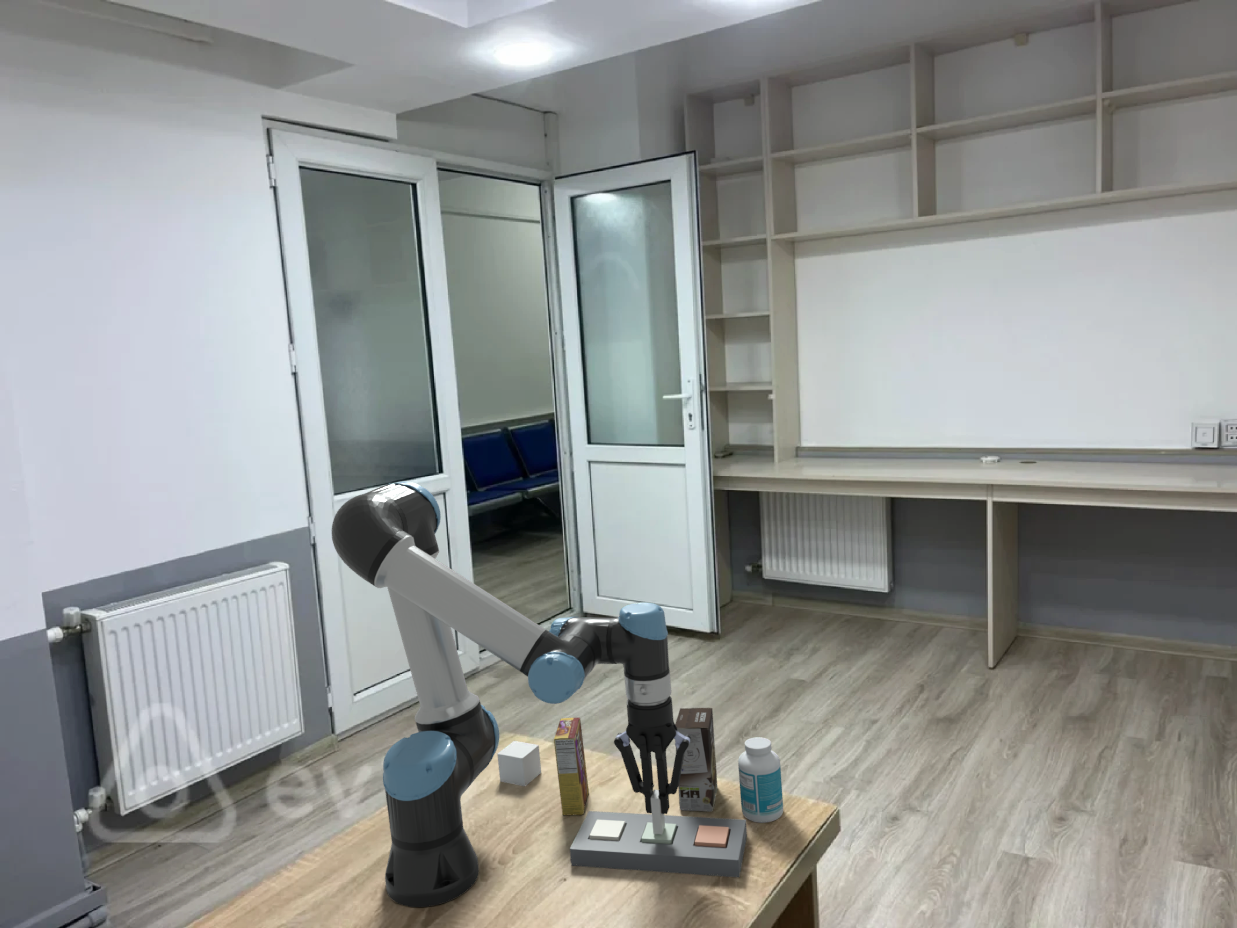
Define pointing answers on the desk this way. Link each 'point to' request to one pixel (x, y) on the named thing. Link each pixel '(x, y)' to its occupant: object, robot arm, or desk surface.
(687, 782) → the coffee box
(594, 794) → the desk surface
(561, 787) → the candy box
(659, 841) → the sage key
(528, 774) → the white cube
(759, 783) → the pill bottle
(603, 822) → the cream key
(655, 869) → the keypad
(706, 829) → the terracotta key
